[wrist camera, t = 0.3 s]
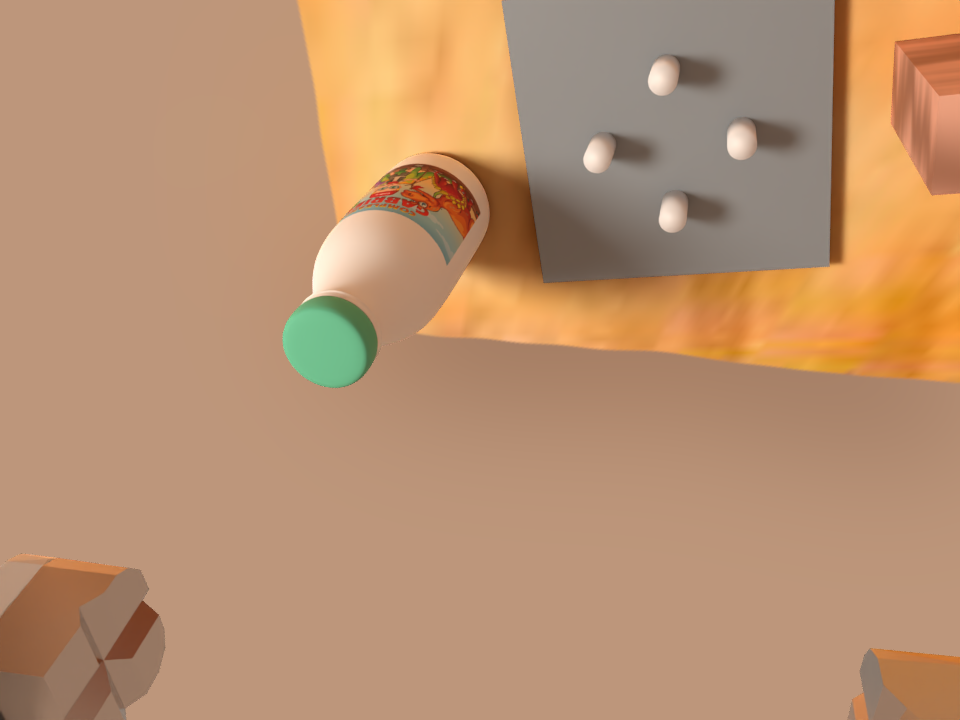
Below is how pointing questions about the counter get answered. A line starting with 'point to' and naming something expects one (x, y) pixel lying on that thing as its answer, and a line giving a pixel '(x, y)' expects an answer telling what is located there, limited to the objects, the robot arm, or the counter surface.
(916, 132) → the terracotta post
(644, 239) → the peg plate
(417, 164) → the milk bottle
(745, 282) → the counter surface
